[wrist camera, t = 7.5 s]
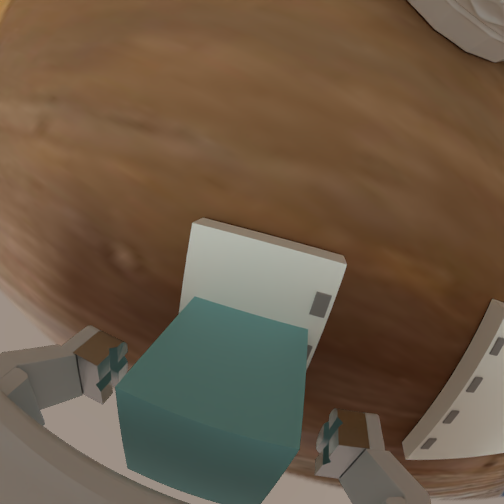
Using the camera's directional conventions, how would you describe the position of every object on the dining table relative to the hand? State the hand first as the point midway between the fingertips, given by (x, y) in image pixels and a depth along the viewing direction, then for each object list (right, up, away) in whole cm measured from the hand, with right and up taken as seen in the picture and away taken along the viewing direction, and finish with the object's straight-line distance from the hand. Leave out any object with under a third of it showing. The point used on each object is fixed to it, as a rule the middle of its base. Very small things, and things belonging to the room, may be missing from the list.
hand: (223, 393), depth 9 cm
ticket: (+18, -4, +1) cm, 18 cm away
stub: (+1, +1, +3) cm, 3 cm away
